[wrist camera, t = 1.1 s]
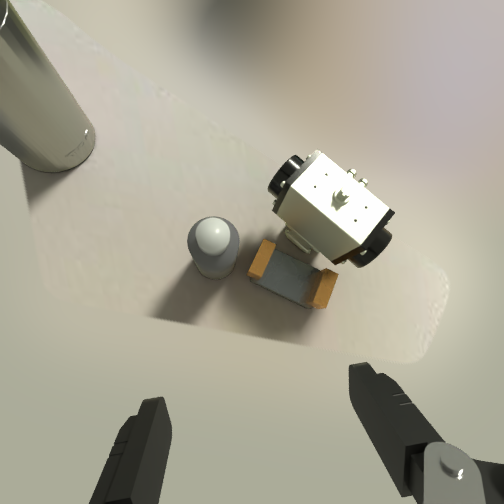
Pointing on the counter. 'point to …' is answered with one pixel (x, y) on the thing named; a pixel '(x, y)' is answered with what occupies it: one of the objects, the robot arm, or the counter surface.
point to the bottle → (214, 246)
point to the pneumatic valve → (330, 210)
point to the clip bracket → (291, 277)
